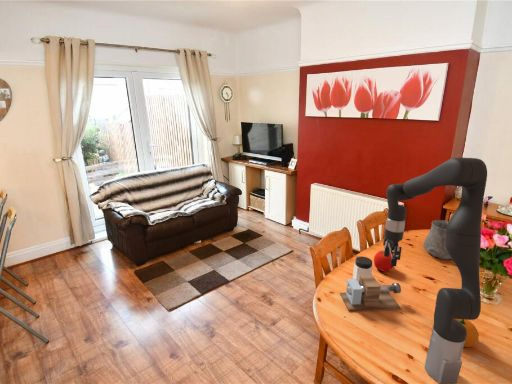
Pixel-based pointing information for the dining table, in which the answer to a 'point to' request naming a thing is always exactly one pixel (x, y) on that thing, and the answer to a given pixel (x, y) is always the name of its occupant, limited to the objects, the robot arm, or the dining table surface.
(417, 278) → the dining table surface
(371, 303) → the bearing block
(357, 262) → the jar
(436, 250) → the vessel
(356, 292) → the block
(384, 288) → the shaft
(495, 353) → the dining table surface
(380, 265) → the tomato
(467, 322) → the fruit
